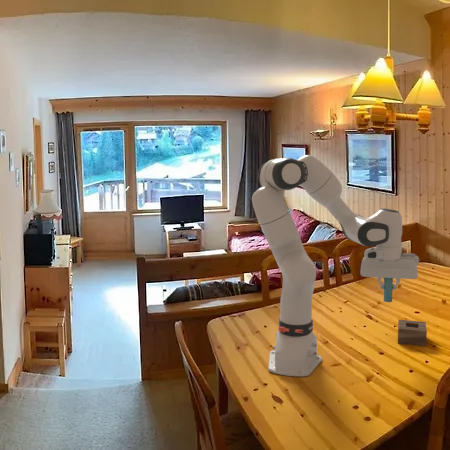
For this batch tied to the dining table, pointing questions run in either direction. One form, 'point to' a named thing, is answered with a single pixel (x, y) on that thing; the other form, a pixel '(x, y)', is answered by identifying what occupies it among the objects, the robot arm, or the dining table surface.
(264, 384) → the dining table surface
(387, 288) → the teal peg
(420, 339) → the walnut hole block
